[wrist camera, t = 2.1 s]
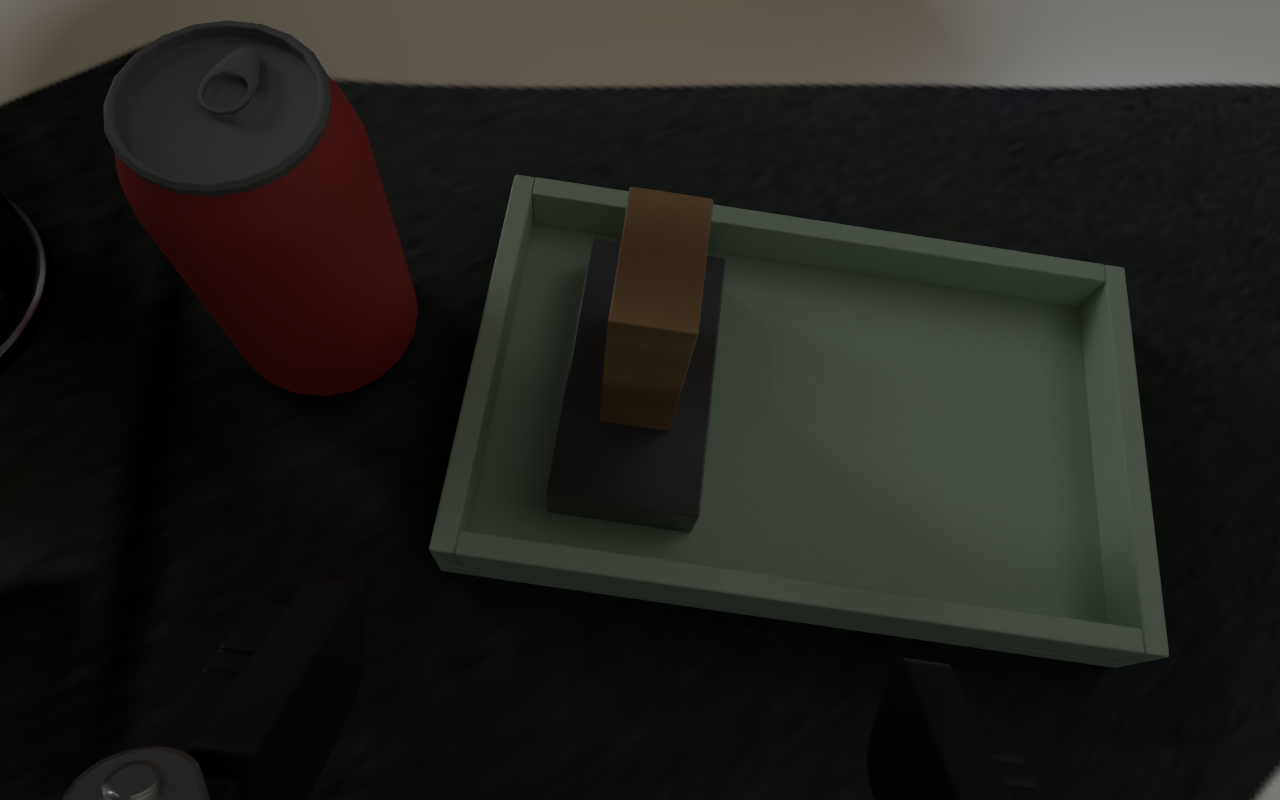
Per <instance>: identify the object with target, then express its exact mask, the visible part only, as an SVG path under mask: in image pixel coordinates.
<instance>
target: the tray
mask: <svg viewBox="0 0 1280 800" xmlns="http://www.w3.org/2000/svg"><path fill="white" fill-rule="evenodd" d="M628 195H629V192H628V191H622V190H615V189H608V188H602V187H595V186H589V185H582V184H576V183H569V182H563V181H556V180H550V179H543V178H536V179H535V178H533V177H528V176H522V175H515V177H514V181H513V185H512V189H511V194H510V198H509V202H508V207H507V211H506V215H505V220H504V224H503V228H502V233H501V237H500V241H499V246H498V250H497V255H496V259H495V263H494V268H493V272H492V276H491V281H490V285H489V289H488V294H487V298H486V302H485V307H484V311H483V315H482V320H481V324H480V328H479V333H478V337H477V342H476V346H475V350H474V355H473V359H472V363H471V368H470V372H469V376H468V381H467V385H466V389H465V394H464V398H463V402H462V407H461V411H460V415H459V420H458V424H457V428H456V433H455V437H454V442H453V446H452V450H451V455H450V459H449V463H448V468H447V472H446V476H445V481H444V485H443V489H442V494H441V498H440V502H439V507H438V511H437V515H436V520H435V524H434V528H433V533H432V537H431V542H430V546H429V550H430V552H431V554H432V555H433V557H434V559H435V560H436V562H437V563H438V566H439V568H440V569H441V570H442V571H446V572H453V573H460V574H467V575H474V576H481V577H487V578H494V579H501V580H508V581H515V582H522V583H529V584H536V585H543V586H550V587H557V588H564V589H571V590H578V591H585V592H592V593H599V594H606V595H612V596H619V597H626V598H633V599H640V600H647V601H654V602H661V603H668V604H675V605H682V606H689V607H696V608H703V609H710V610H717V611H724V612H731V613H737V614H744V615H751V616H758V617H765V618H772V619H779V620H786V621H793V622H800V623H807V624H814V625H821V626H828V627H835V628H842V629H849V630H856V631H862V632H869V633H876V634H883V635H890V636H897V637H904V638H911V639H918V640H925V641H932V642H939V643H946V644H953V645H960V646H967V647H974V648H981V649H987V650H994V651H1001V652H1008V653H1015V654H1022V655H1029V656H1036V657H1043V658H1050V659H1057V660H1064V661H1071V662H1078V663H1085V664H1092V665H1099V666H1106V667H1112V668H1116V667H1121V666H1126V665H1131V664H1136V663H1141V662H1146V661H1151V660H1156V659H1161V658H1166V657H1169V650H1168V642H1167V633H1166V624H1165V616H1164V607H1163V599H1162V590H1161V581H1160V573H1159V564H1158V555H1157V547H1156V538H1155V530H1154V521H1153V512H1152V504H1151V495H1150V486H1149V478H1148V469H1147V460H1146V452H1145V443H1144V435H1143V426H1142V417H1141V409H1140V400H1139V391H1138V383H1137V374H1136V366H1135V357H1134V348H1133V340H1132V331H1131V322H1130V314H1129V305H1128V296H1127V288H1126V279H1125V271H1124V268H1122V267H1115V266H1109V265H1103V264H1097V263H1090V262H1084V261H1077V260H1070V259H1064V258H1057V257H1051V256H1044V255H1038V254H1031V253H1025V252H1018V251H1012V250H1005V249H999V248H992V247H986V246H979V245H973V244H966V243H960V242H953V241H947V240H940V239H934V238H927V237H921V236H914V235H908V234H901V233H895V232H888V231H882V230H875V229H869V228H862V227H856V226H849V225H843V224H836V223H830V222H823V221H817V220H810V219H804V218H797V217H791V216H784V215H778V214H771V213H765V212H758V211H752V210H745V209H739V208H732V207H726V206H719V205H713V210H712V218H711V227H710V236H709V245H708V254H707V256H714V257H720V258H725V260H726V262H725V272H724V281H723V291H722V301H721V310H720V320H719V330H718V340H717V349H716V359H715V369H714V378H713V388H712V398H711V407H710V417H709V427H708V437H707V446H706V456H705V466H704V475H703V485H702V495H701V504H700V514H699V518H698V520H697V522H696V523H695V525H694V527H693V529H692V531H691V532H690V533H688V532H681V531H675V530H668V529H661V528H654V527H647V526H640V525H633V524H627V523H620V522H613V521H606V520H599V519H592V518H585V517H579V516H572V515H565V514H558V513H551V512H548V510H547V495H546V493H547V488H548V482H549V476H550V471H551V465H552V460H553V454H554V448H555V443H556V437H557V432H558V426H559V420H560V415H561V409H562V404H563V398H564V392H565V387H566V381H567V376H568V370H569V365H570V359H571V353H572V348H573V342H574V337H575V331H576V325H577V320H578V314H579V309H580V303H581V297H582V292H583V286H584V281H585V275H586V269H587V264H588V258H589V253H590V247H591V241H592V239H593V238H596V239H602V240H609V241H615V242H621V238H622V232H623V225H624V219H625V213H626V207H627V201H628Z"/></svg>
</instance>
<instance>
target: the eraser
mask: <svg viewBox="0 0 1280 800" xmlns="http://www.w3.org/2000/svg"><path fill="white" fill-rule="evenodd" d="M712 210H713V199H708V198H702V197H695V196H689V195H682V194H676V193H669V192H663V191H656V190H650V189H643V188H637V187H630V189H629V195H628V201H627V207H626V213H625V219H624V225H623V232H622V238H621V242H615V241H609V240H602V239H596V238H593V239H592V241H591V247H590V253H589V258H588V264H587V269H586V275H585V281H584V286H583V292H582V297H581V303H580V309H579V314H578V320H577V325H576V331H575V337H574V342H573V348H572V353H571V359H570V365H569V370H568V376H567V381H566V387H565V392H564V398H563V404H562V409H561V415H560V420H559V426H558V432H557V437H556V443H555V448H554V454H553V460H552V465H551V471H550V476H549V482H548V488H547V493H546V495H547V510H548V512H551V513H558V514H565V515H572V516H579V517H585V518H592V519H599V520H606V521H613V522H620V523H627V524H633V525H640V526H647V527H654V528H661V529H668V530H675V531H681V532H688V533H690V532H691V531H692V529H693V527H694V525H695V523H696V522H697V520H698V518H699V514H700V504H701V495H702V485H703V475H704V466H705V456H706V446H707V437H708V427H709V417H710V407H711V398H712V388H713V378H714V369H715V359H716V349H717V340H718V330H719V320H720V310H721V301H722V291H723V281H724V272H725V262H726V260H725V258H720V257H714V256H707V254H708V245H709V236H710V227H711V218H712Z"/></svg>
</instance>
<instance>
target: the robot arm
mask: <svg viewBox="0 0 1280 800" xmlns="http://www.w3.org/2000/svg"><path fill="white" fill-rule="evenodd" d="M52 286H53V263H52V257H51V253H50V250H49V247H48V245H47V243H46V240H45V238H44V237H43V235H42V233H41V232H40V230H39V229H38V228H37V227H36V225H35V224H34V223H33V222H32V221H31V220H30V219H29V218H28V217H27V216H26V215H25V214H24V213H23V212H22V211H21V210H20V209H19V208H18V207H17V206H16V205H15V204H14V203H12V202H11V201H10V200H8V199H7V198H5V197H4V196H3V195H2V194H1V193H0V369H1V368H2V367H3V366H5V365H6V364H7V363H8V362H9V361H10V360H11V359H12V358H13V357H14V356H15V355H16V354H17V353H18V352H19V351H20V350H21V349H22V348H23V346H24V345H25V344H26V343H27V342H28V340H29V339H30V337H31V336H32V335H33V333H34V332H35V330H36V329H37V327H38V325H39V323H40V322H41V320H42V318H43V316H44V313H45V311H46V309H47V306H48V303H49V300H50V296H51V292H52ZM364 623H365V585H364V583H363V582H362V581H358V580H351V579H343V578H336V577H329V576H322V575H315V574H313V575H310V576H309V577H308V578H307V580H306V581H305V582H304V584H303V585H302V587H301V588H300V590H299V591H298V592H297V594H296V595H295V597H294V598H293V599H292V601H291V602H290V604H289V605H288V606H285V605H278V604H271V603H267V604H266V605H264V606H262V607H261V608H259V609H258V610H256V611H254V612H253V613H251V614H250V615H248V616H246V617H245V618H243V619H242V620H240V621H239V622H237V623H236V624H235V626H234V627H233V628H232V630H231V631H230V632H229V633H228V635H227V636H226V637H225V639H224V640H223V641H222V642H221V644H220V645H219V646H218V650H217V652H214V653H213V654H212V655H211V657H210V658H209V659H208V660H207V662H206V663H205V664H204V666H203V667H202V671H201V673H199V672H198V673H197V675H196V676H195V677H194V678H193V680H192V681H191V682H190V684H189V685H188V686H187V687H186V689H185V690H184V691H183V693H182V694H181V695H180V696H179V698H178V699H177V700H176V702H175V703H174V704H173V705H172V707H171V708H170V709H169V711H168V712H167V713H166V714H165V716H164V717H163V718H162V720H161V721H160V722H159V723H158V725H157V726H156V727H155V729H154V730H153V731H152V732H151V734H150V735H149V736H148V738H147V739H146V740H145V741H144V743H143V744H142V745H141V747H140V748H135V749H130V750H126V751H123V752H120V753H117V754H114V755H112V756H110V757H107V758H105V759H103V760H101V761H99V762H98V763H96V764H94V765H93V766H91V767H90V768H88V769H87V770H86V771H84V772H83V773H82V774H81V775H80V776H79V777H78V778H77V779H76V780H75V781H74V782H73V783H72V784H71V785H70V787H69V788H68V789H67V791H64V792H60V793H54V794H48V795H40V796H32V797H24V798H15V799H7V800H308V798H309V796H310V794H311V792H312V790H313V788H314V786H315V784H316V782H317V780H318V778H319V776H320V774H321V772H322V770H323V768H324V766H325V764H326V762H327V760H328V758H329V756H330V753H331V751H332V749H333V747H334V745H335V743H336V741H337V739H338V737H339V735H340V733H341V731H342V729H343V727H344V725H345V723H346V721H347V719H348V717H349V715H350V713H351V711H352V709H353V706H354V704H355V701H356V698H357V695H358V691H359V687H360V683H361V678H362V671H363V653H364ZM1023 761H1024V759H1023V757H1022V755H1021V753H1020V751H1019V749H1018V747H1017V745H1016V743H1015V741H1014V739H1013V737H1012V735H1011V733H1010V731H1009V730H1008V729H1007V728H1006V727H1005V726H1004V725H1003V724H1002V723H1001V722H1000V721H999V720H998V719H997V718H996V717H995V716H994V715H993V714H992V713H991V712H990V711H989V710H988V709H987V708H986V707H985V706H984V705H983V704H981V703H973V702H968V701H967V699H966V697H965V695H964V693H963V691H962V689H961V686H960V684H959V682H958V680H957V678H956V676H955V674H954V671H953V670H952V668H951V667H950V666H949V665H948V664H942V663H935V662H928V661H921V660H914V659H906V658H896V659H895V660H894V662H893V663H892V666H891V668H890V671H889V674H888V678H887V681H886V684H885V688H884V691H883V694H882V698H881V701H880V704H879V708H878V711H877V714H876V718H875V721H874V724H873V728H872V731H871V734H870V738H869V743H868V752H867V770H868V778H869V783H870V786H871V790H872V794H873V797H874V800H1044V798H1043V796H1042V794H1041V792H1040V790H1039V789H1036V782H1035V780H1034V778H1033V777H1032V775H1031V773H1030V771H1029V769H1028V767H1027V765H1024V763H1023Z"/></svg>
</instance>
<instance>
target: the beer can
mask: <svg viewBox="0 0 1280 800" xmlns="http://www.w3.org/2000/svg"><path fill="white" fill-rule="evenodd" d="M104 132H105V134H106V136H107V138H108V140H109V142H110V144H111V146H112V148H113V150H114V151H115V158H116V168H117V174H118V177H119V180H120V182H121V185H122V188H123V191H124V193H125V195H126V197H127V199H128V201H129V203H130V205H131V207H132V209H133V211H134V213H135V215H136V217H137V219H138V220H139V221H140V223H141V224H142V225H143V227H144V228H145V229H146V231H147V232H148V233H149V234H150V236H151V237H152V238H153V240H154V241H155V242H156V244H157V245H158V246H159V247H160V249H161V250H162V251H163V253H164V254H165V255H166V257H167V258H168V259H169V261H170V262H171V263H172V264H173V266H174V267H175V268H176V270H177V271H178V272H179V274H180V275H181V276H182V277H183V279H184V280H185V281H186V283H187V284H188V285H189V287H190V288H191V289H192V290H193V292H194V293H195V294H196V296H197V297H198V298H199V300H200V301H201V302H202V304H203V305H204V306H205V307H206V309H207V310H208V311H209V313H210V314H211V315H212V317H213V318H214V319H215V320H216V322H217V323H218V324H219V326H220V327H221V328H222V330H223V331H224V332H225V333H226V335H227V336H228V337H229V339H230V340H231V341H232V343H233V344H234V345H235V346H236V348H237V349H238V350H239V352H240V353H241V354H242V356H243V357H244V358H245V360H246V361H247V362H248V363H249V365H250V366H251V367H252V368H253V369H255V370H256V371H257V372H258V373H259V374H260V375H261V376H262V377H264V378H265V379H266V380H267V381H268V382H269V383H271V384H274V385H276V386H279V387H281V388H283V389H286V390H288V391H291V392H293V393H297V394H308V395H320V396H328V395H333V394H339V393H344V392H349V391H354V390H356V389H358V388H360V387H362V386H364V385H366V384H368V383H370V382H372V381H374V380H376V379H378V378H380V377H381V376H382V375H383V374H385V373H386V372H387V371H388V370H389V369H390V368H391V367H392V366H393V365H394V364H395V363H396V362H398V361H399V360H400V359H401V357H402V355H403V354H404V352H405V350H406V348H407V347H408V345H409V343H410V341H411V340H412V338H413V336H414V333H415V327H416V322H417V317H418V306H417V300H416V295H415V289H414V285H413V282H412V279H411V276H410V273H409V269H408V266H407V263H406V260H405V256H404V253H403V250H402V247H401V244H400V240H399V237H398V234H397V231H396V227H395V224H394V221H393V218H392V215H391V211H390V208H389V205H388V202H387V198H386V195H385V192H384V189H383V186H382V182H381V179H380V176H379V173H378V169H377V166H376V163H375V160H374V157H373V153H372V150H371V147H370V144H369V140H368V137H367V134H366V131H365V128H364V125H363V123H362V122H361V120H360V119H359V117H358V116H357V114H356V112H355V111H354V109H353V108H352V106H351V105H350V103H349V101H348V100H347V98H346V97H345V95H344V94H343V92H342V91H341V90H340V88H339V87H338V85H337V84H336V83H335V82H334V81H333V80H332V79H331V78H330V77H328V75H327V73H326V72H325V70H324V68H323V67H322V65H321V64H320V62H319V60H318V59H317V57H316V56H315V54H314V53H313V52H312V51H311V50H310V49H308V48H307V47H306V46H304V45H303V44H302V43H301V42H299V41H298V40H297V39H295V38H294V37H293V36H291V35H289V34H287V33H284V32H281V31H278V30H276V29H273V28H270V27H268V26H265V25H262V24H254V23H245V22H236V21H221V22H212V23H204V24H195V25H192V26H189V27H186V28H183V29H180V30H177V31H175V32H172V33H169V34H166V35H163V36H161V37H160V38H158V39H157V40H155V41H154V42H152V43H151V44H149V45H148V46H146V47H145V48H143V49H142V50H140V51H139V52H137V53H136V54H134V56H133V57H132V58H131V59H130V60H129V61H128V62H127V64H126V65H125V66H124V67H123V68H122V69H121V71H120V72H119V73H118V74H117V75H116V76H115V77H114V79H113V82H112V84H111V87H110V89H109V92H108V95H107V97H106V100H105V102H104Z"/></svg>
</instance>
